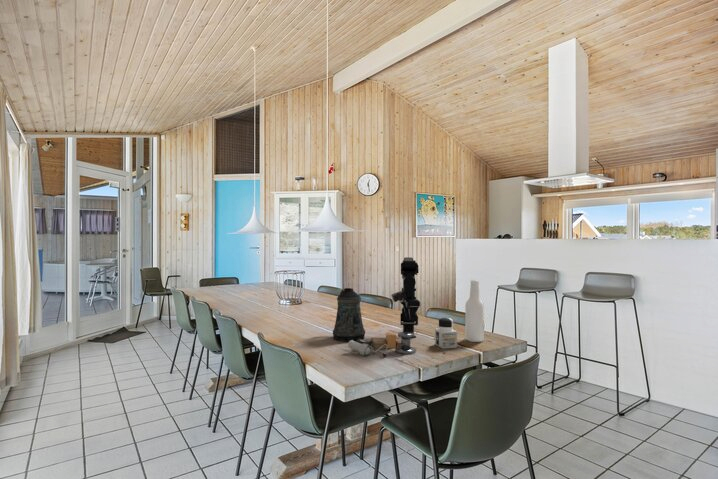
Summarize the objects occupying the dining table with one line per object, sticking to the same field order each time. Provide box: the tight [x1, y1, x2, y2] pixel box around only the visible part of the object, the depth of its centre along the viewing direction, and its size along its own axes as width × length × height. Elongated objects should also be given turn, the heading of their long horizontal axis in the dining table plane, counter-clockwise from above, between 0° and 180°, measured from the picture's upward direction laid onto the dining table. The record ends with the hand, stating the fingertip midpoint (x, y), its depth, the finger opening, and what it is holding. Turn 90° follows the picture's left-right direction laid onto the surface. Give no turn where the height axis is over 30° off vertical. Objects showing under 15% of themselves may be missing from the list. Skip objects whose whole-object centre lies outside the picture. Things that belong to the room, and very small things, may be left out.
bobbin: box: [395, 331, 417, 355], centre depth 178 cm, size 9×9×8 cm
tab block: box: [385, 332, 397, 349], centre depth 186 cm, size 4×4×6 cm
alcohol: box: [464, 279, 485, 343], centre depth 199 cm, size 9×9×30 cm
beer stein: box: [332, 287, 366, 343], centre depth 203 cm, size 16×19×25 cm
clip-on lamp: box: [347, 338, 388, 357], centre depth 175 cm, size 12×6×18 cm
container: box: [434, 317, 458, 349], centre depth 187 cm, size 8×8×13 cm
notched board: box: [370, 336, 401, 350], centre depth 189 cm, size 11×16×2 cm
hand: (409, 318), depth 192 cm, fingers open, 9 cm apart
